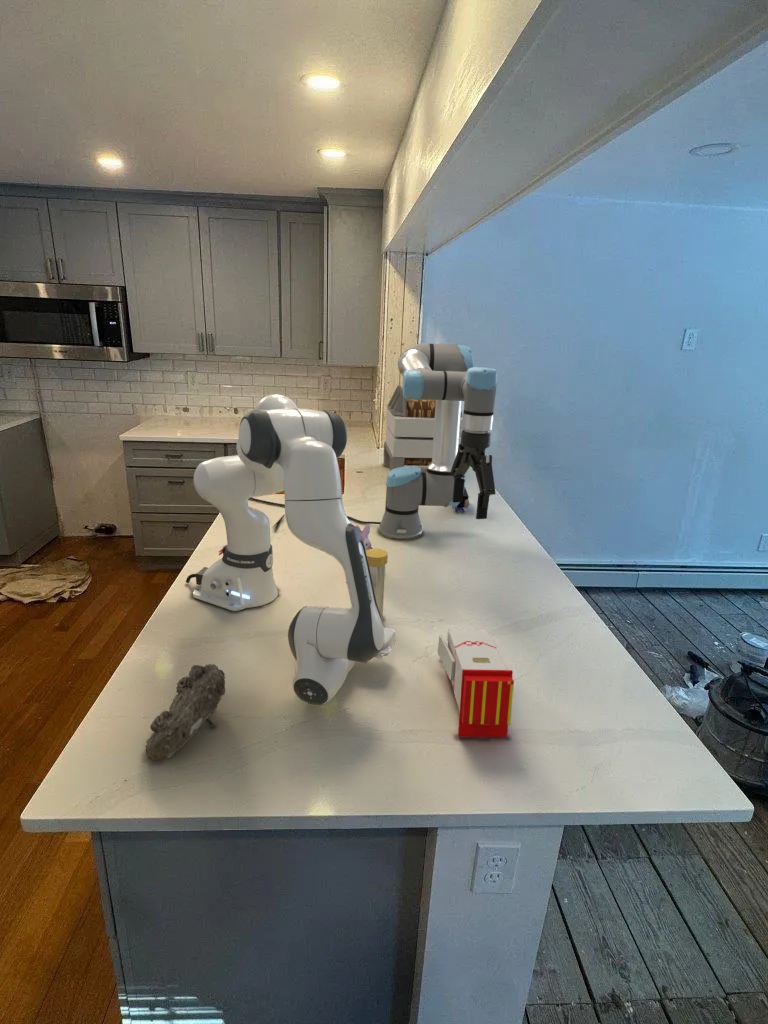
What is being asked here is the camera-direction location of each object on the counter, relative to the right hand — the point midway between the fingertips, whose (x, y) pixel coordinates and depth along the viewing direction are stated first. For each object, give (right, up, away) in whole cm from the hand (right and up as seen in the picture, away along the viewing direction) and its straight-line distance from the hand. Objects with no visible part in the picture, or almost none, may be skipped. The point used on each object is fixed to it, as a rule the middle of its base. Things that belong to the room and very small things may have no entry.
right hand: (468, 510), depth 150 cm
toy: (-5, -38, -32) cm, 50 cm away
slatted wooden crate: (-5, +18, +125) cm, 126 cm away
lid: (-24, -11, -12) cm, 29 cm away
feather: (-60, -3, +59) cm, 84 cm away
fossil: (-58, -40, -44) cm, 83 cm away
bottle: (-25, -28, -5) cm, 38 cm away
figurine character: (+8, +1, +78) cm, 79 cm away
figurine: (-28, -19, +19) cm, 39 cm away
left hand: (-28, -25, -17) cm, 41 cm away
